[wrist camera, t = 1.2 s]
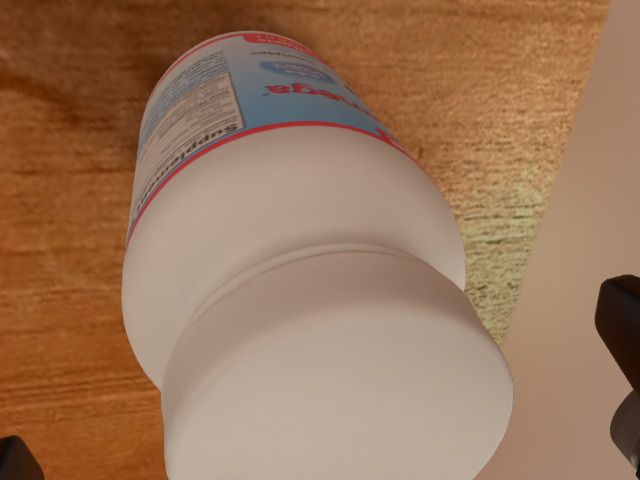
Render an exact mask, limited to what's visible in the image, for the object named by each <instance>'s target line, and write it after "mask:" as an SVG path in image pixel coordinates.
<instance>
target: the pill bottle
mask: <svg viewBox="0 0 640 480" xmlns="http://www.w3.org/2000/svg"><path fill="white" fill-rule="evenodd" d="M465 278H466V264H465V252H464V246H463V241H462V237H461V233H460V230H459V227H458V224H457V221H456V219H455V217H454V215H453V213H452V211H451V209H450V207H449V205H448V203H447V201H446V199H445V198H444V196H443V195H442V193H441V192H440V191H439V189H438V188H437V187H436V185H435V184H434V183H433V181H432V180H431V179H430V177H429V176H428V175H427V174H426V172H425V171H424V170H423V169H422V168H421V167H420V166H419V164H418V163H417V162H416V161H415V160H414V159H413V158H412V157H411V156H410V154H409V153H408V152H407V151H406V150H405V149H404V148H403V147H402V146H401V145H400V143H399V142H398V141H397V140H396V139H395V137H394V136H393V135H392V134H391V133H390V132H389V131H388V129H387V128H386V127H385V126H384V125H383V124H382V123H381V122H380V121H379V120H378V118H377V117H376V116H375V115H374V114H373V113H372V112H371V111H370V109H369V108H368V107H367V106H366V105H365V104H364V103H363V102H362V101H361V99H360V98H359V97H358V96H357V95H356V93H355V92H354V91H353V90H352V89H351V88H350V87H349V86H348V85H347V84H346V83H345V82H344V80H343V79H342V78H341V77H340V76H339V75H338V74H337V73H336V72H335V71H334V69H333V68H332V67H331V66H330V65H329V64H328V63H327V62H326V61H324V60H323V59H322V58H321V57H320V56H319V55H318V54H316V53H315V52H314V51H312V50H311V49H309V48H308V47H306V46H304V45H303V44H301V43H299V42H297V41H295V40H292V39H290V38H288V37H285V36H281V35H278V34H275V33H269V32H262V31H237V32H230V33H226V34H222V35H218V36H215V37H213V38H210V39H207V40H205V41H203V42H202V43H200V44H198V45H196V46H194V47H193V48H191V49H190V50H189V51H187V52H186V53H184V54H183V55H182V56H181V57H180V58H179V59H177V60H176V61H175V62H174V63H173V64H172V65H171V66H170V68H169V69H168V70H167V71H166V72H165V73H164V75H163V76H162V78H161V79H160V80H159V82H158V83H157V85H156V86H155V88H154V90H153V92H152V94H151V95H150V98H149V100H148V102H147V105H146V107H145V111H144V114H143V118H142V122H141V127H140V135H139V145H138V152H137V161H136V170H135V177H134V184H133V193H132V201H131V209H130V217H129V225H128V233H127V239H126V248H125V256H124V264H123V271H122V312H123V319H124V325H125V329H126V333H127V336H128V339H129V342H130V345H131V347H132V350H133V352H134V354H135V356H136V358H137V360H138V362H139V363H140V365H141V367H142V368H143V370H144V372H145V373H146V374H147V376H148V377H149V378H150V379H151V381H152V382H153V383H154V384H155V385H156V387H157V388H158V389H159V390H160V391H161V410H162V415H163V420H164V456H165V467H166V473H167V477H168V480H472V479H473V478H474V477H475V476H476V475H477V474H478V472H480V470H481V469H482V468H483V467H484V466H485V465H486V463H487V462H488V461H489V459H490V458H491V457H492V455H493V454H494V452H495V450H496V449H497V447H498V445H499V443H500V442H501V440H502V438H503V436H504V435H505V432H506V429H507V426H508V423H509V420H510V416H511V413H512V406H513V382H512V377H511V374H510V370H509V367H508V364H507V362H506V360H505V357H504V355H503V354H502V352H501V350H500V348H499V347H498V345H497V344H496V342H495V341H494V339H493V338H492V336H491V335H490V333H489V332H488V330H487V329H486V328H485V326H484V325H483V323H482V322H481V321H480V319H479V317H478V315H477V312H476V310H475V308H474V307H473V305H472V304H471V302H470V300H469V299H468V297H467V296H466V294H465V293H464V289H465Z"/></svg>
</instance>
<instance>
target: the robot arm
mask: <svg viewBox="0 0 640 480" xmlns="http://www.w3.org/2000/svg"><path fill="white" fill-rule="evenodd" d="M595 326H596V329H597V331H598V333H599V335H600V337H601V338H602V340H603V342H604V343H605V345H606V346H607V348H608V349H609V351H610V353H611V354H612V356H613V357H614V359H615V361H616V362H617V364H618V365H619V367H620V369H621V370H622V372H623V373H624V375H625V376H626V378H627V380H628V381H629V383H630V384H631V386H632V388H633V389H634V391H635V392H636V394H637V395H638V397H639V399H640V278H639V277H636V276H633V275H622V276H618V277H614V278H610V279H607V280H605V281H604V282H603V283H602V284H601V287H600V292H599V297H598V302H597V308H596V313H595ZM636 477H637V478H638V479H639V480H640V461H639V465H638V468H637V471H636ZM0 480H45V479H44V474H43V471H42V469H41V467H40V465H39V464H38V462H37V461H36V459H35V458H34V456H33V455H32V453H31V452H30V450H29V449H28V447H27V446H26V444H25V443H24V441H23V440H22V439H21V438H20V437H18V436H16V435H14V436H13V435H12V436H8V437H4V438H0Z"/></svg>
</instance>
